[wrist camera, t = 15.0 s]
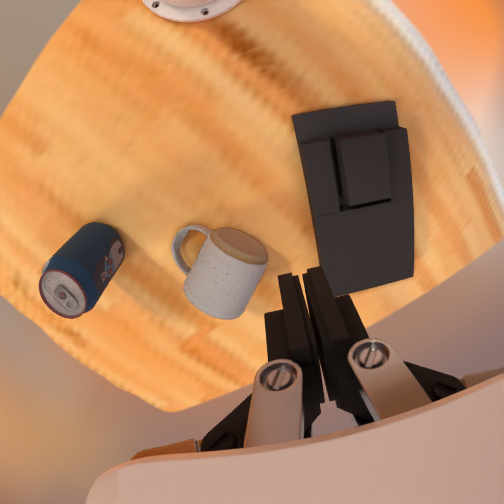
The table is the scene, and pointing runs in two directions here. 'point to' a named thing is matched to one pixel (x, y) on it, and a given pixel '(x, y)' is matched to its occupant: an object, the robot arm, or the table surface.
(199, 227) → the ceramic mug
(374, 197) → the loose pad
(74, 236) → the soda can
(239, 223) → the table surface
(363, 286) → the pad base
